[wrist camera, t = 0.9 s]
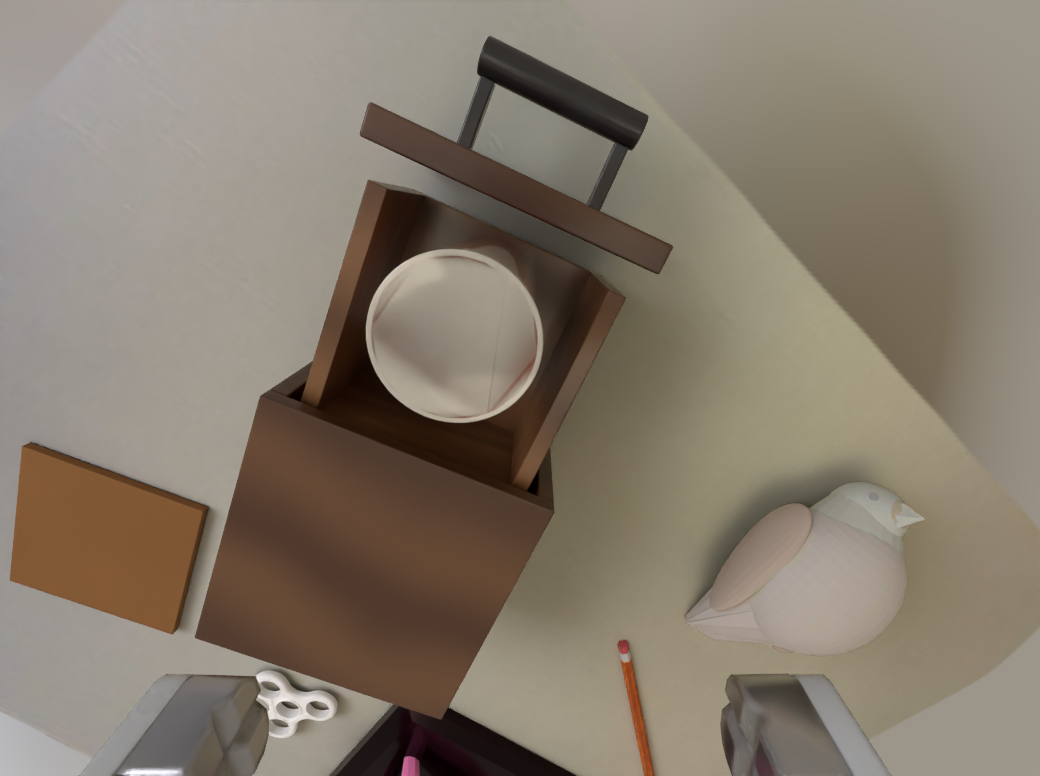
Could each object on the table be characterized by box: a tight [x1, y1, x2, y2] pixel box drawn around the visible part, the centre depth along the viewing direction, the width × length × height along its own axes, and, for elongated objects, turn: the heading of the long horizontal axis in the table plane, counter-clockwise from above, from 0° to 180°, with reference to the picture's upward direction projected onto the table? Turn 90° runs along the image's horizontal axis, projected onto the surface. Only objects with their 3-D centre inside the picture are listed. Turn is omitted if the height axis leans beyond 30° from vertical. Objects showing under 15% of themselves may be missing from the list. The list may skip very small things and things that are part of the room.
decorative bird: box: [686, 482, 925, 656], centre depth 30 cm, size 9×16×8 cm, turn 149°
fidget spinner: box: [256, 671, 338, 738], centre depth 39 cm, size 7×6×1 cm
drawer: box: [301, 36, 673, 492], centre depth 23 cm, size 18×12×8 cm
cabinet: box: [195, 361, 554, 719], centre depth 28 cm, size 15×14×10 cm
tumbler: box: [366, 237, 544, 423], centre depth 21 cm, size 6×6×11 cm
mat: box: [10, 443, 208, 634], centre depth 35 cm, size 12×12×1 cm
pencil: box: [618, 640, 654, 776], centre depth 39 cm, size 1×18×1 cm, turn 13°
